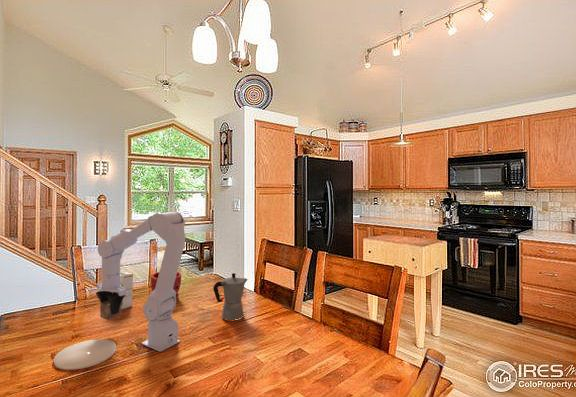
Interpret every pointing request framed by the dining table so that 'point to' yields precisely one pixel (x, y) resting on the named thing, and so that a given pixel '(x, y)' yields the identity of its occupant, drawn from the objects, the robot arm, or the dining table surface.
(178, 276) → the plant pot
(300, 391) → the dining table surface
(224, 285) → the coffeepot
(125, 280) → the syrup box
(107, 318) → the walnut block
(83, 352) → the white plate
